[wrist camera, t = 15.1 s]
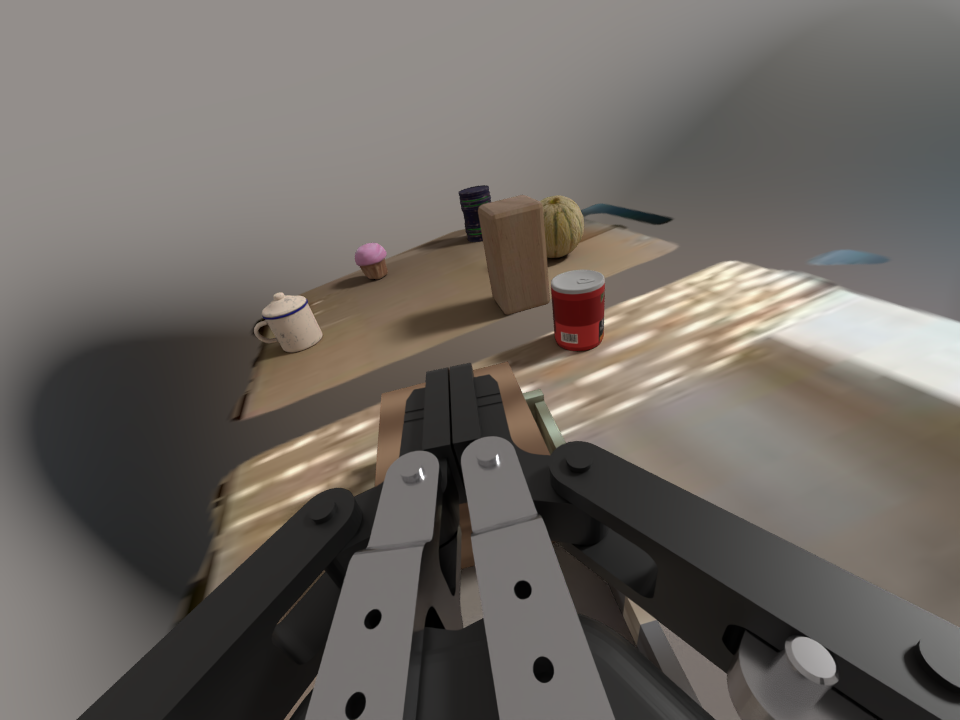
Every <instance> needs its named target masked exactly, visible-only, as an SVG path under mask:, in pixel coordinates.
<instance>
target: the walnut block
mask: <svg viewBox="0 0 960 720" xmlns="http://www.w3.org/2000/svg"><path fill="white" fill-rule="evenodd" d="M473 373H474V377H478V376H483V375H488V374H490V375H491V376H492V377H493V378H494V379H495V380H496V381H497V382H498V385H499V389H500V394H501V398H502V402H503V406H504V410H505V414H506V419H507V423H508V427H509V431H510V435H511V438H512V440H513V442H514V443H515V444H516V446H518V447H519V448H520V449H522V450H524V451H526V452H529V453H533V454H540V455H550V453H549V451H548V448H547V446H546V444H545V442H544V440H543V437H542V435H541V433H540V431H539V429H538V426H537V424H536V422H535V420H534V418H533V415H532V413H531V411H530V409H529V407H528V405H527V402H526V400H525V398H524V396H523V394H522V391H521V389H520V387H519V385H518V383H517V380H516V378H515V376H514V374H513V372H512V369H511V367H510V365H509V363H508V361H507V362H504V363H500V364H496V365H492V366H488V367H484V368H480V369H476V370H473ZM425 385H426V383H422V384H418V385H414V386H410V387H406V388H402V389H398V390H394V391H391V392H387V393H383V394H382V396H381V409H380V423H379V436H378V449H377V462H376V476H375V487H376V486H377V485H379V484H381V483H382V482H383V481H384V480H385V476H386V473H387V470H388V469H389V467H390V466H391V464H392V463H393V462H394V461H395V460H397V459H398V458H399V454H400V446H401V438H402V430H403V424H404V414H405V406H406V400H407V399H408V397H409V396H410V394H411V393H412V391H413V390H414V389H419V388H424V387H425ZM459 512H460V525H461V531H462V536H461V569H464V568H467V567H471V566H474V565H475V561H474V555H473V549H472V542H471V533H472V525H471V519H470V513H469V507H468V503H463V504H459ZM555 542H557V541H551V543H555Z"/></svg>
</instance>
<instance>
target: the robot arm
mask: <svg viewBox="0 0 960 720" xmlns="http://www.w3.org/2000/svg"><path fill="white" fill-rule="evenodd" d="M463 503H468V507H469V513H470V519H471V525H472V533H471V542H472V549H473V555H474V561H475V567H476V574H477V580H478V586H479V593H480V599H481V605H482V611H483V619H481V620H479V621H477V622H475V623H473V624H471V625H469V626H467V627H465V628H463V620H462V615H461V607H460V580H461V536H462V531H461V525H460V512H459V504H463ZM551 541H557V542H560V544H561V545H562V547H563V548H564V549H565V550H566V551H568V552H569V553H570V554H571V555H573V556H574V557H575V558H577V559H578V560H579V561H581V562H582V563H583V564H584V565H586V566H587V567H588V568H590V569H591V570H592V571H594V572H595V573H596V574H598V575H599V576H600V577H601V578H603V579H604V580H605V581H607V582H608V583H609V584H611V585H612V586H613V587H614V588H616V589H617V590H618V591H620V592H621V593H622V594H624V595H625V596H626V597H628V598H629V599H630V600H631V601H633V602H634V603H635V604H637V605H638V606H639V607H641V608H642V609H643V610H645V611H646V612H647V613H648V614H650V615H651V616H652V617H654V618H655V619H656V620H658V621H659V622H660V623H661V624H663V625H664V626H665V627H667V628H668V629H669V630H671V631H672V632H673V633H675V634H676V635H677V636H678V637H680V638H681V639H682V640H684V641H685V642H686V643H688V644H689V645H690V646H691V647H693V648H694V649H695V650H697V651H698V652H699V653H701V654H702V655H703V656H705V657H706V658H707V659H708V660H710V661H711V662H712V663H714V664H715V665H716V666H718V667H719V668H720V669H721V670H723V671H724V672H725V673H727V685H728V691H729V695H730V698H731V700H732V703H733V705H734V707H735V709H736V711H737V713H738V715H739V717H740V718H741V720H960V628H959V627H957V626H955V625H954V624H952V623H950V622H948V621H946V620H944V619H942V618H940V617H938V616H936V615H934V614H932V613H930V612H928V611H926V610H924V609H922V608H920V607H918V606H916V605H914V604H912V603H910V602H908V601H906V600H904V599H902V598H900V597H898V596H896V595H894V594H892V593H890V592H888V591H886V590H884V589H882V588H880V587H878V586H876V585H874V584H872V583H870V582H868V581H866V580H864V579H862V578H860V577H858V576H856V575H854V574H852V573H850V572H848V571H846V570H844V569H842V568H840V567H838V566H836V565H834V564H832V563H830V562H828V561H826V560H824V559H822V558H820V557H818V556H816V555H814V554H812V553H810V552H808V551H806V550H804V549H802V548H800V547H798V546H796V545H794V544H792V543H790V542H788V541H786V540H784V539H782V538H780V537H778V536H776V535H774V534H772V533H770V532H768V531H766V530H764V529H762V528H760V527H758V526H756V525H754V524H752V523H750V522H748V521H746V520H744V519H742V518H740V517H738V516H736V515H734V514H732V513H730V512H728V511H726V510H724V509H722V508H720V507H718V506H716V505H714V504H712V503H710V502H708V501H706V500H704V499H702V498H700V497H698V496H696V495H694V494H692V493H690V492H688V491H686V490H684V489H682V488H680V487H678V486H676V485H674V484H672V483H670V482H668V481H666V480H664V479H662V478H660V477H658V476H656V475H654V474H652V473H650V472H648V471H646V470H644V469H642V468H640V467H638V466H636V465H634V464H632V463H630V462H628V461H626V460H624V459H622V458H620V457H618V456H616V455H614V454H612V453H610V452H608V451H606V450H604V449H602V448H600V447H598V446H596V445H593V444H591V443H588V442H582V441H574V442H568V443H565V444H562V445H560V446H559V447H557V448H556V449H555V450H554V451H553V452H552V454H551V455H540V454H533V453H529V452H526V451H524V450H522V449H520V448H519V447H518V446H516V444H515V443H514V442H513V440H512V438H511V435H510V431H509V427H508V423H507V419H506V414H505V410H504V406H503V402H502V398H501V394H500V389H499V385H498V382H497V381H496V380H495V379H494V378H493V377H492V376H491V375H490V374H488V375H483V376H478V377H474V373H473V369H472V365H471V363H467V364H462V365H457V366H452V367H450V370H449V368H443V369H438V370H433V371H428V372H426V385H425V387H424V388H419V389H414V390H413V391H412V393H411V394H410V396H409V397H408V399H407V400H406V406H405V414H404V424H403V430H402V438H401V446H400V454H399V458H398V459H397V460H395V461H394V462H393V463H392V464H391V466H390V467H389V469H388V470H387V473H386V476H385V480H384V481H383V482H382V483H381V484H379V485H377V486H376V487H374V488H372V489H370V490H367V491H365V492H363V493H361V494H359V495H357V496H355V497H354V496H353V495H352V493H351V492H350V491H348V490H346V489H343V488H333V489H329V490H326V491H324V492H321V493H320V494H318V495H316V496H315V497H313V498H312V499H311V500H310V501H308V502H307V503H306V504H305V505H304V506H303V507H302V508H301V509H300V510H299V511H298V512H297V513H296V514H295V515H294V516H292V517H291V518H290V519H289V520H288V521H287V522H286V523H285V524H284V525H283V526H282V527H281V528H280V529H279V530H278V531H276V532H275V533H274V534H273V535H272V536H271V537H270V538H269V539H268V540H267V541H266V542H265V543H264V544H263V545H262V546H261V547H259V548H258V549H257V550H256V551H255V552H254V553H253V554H252V555H251V556H250V557H249V558H248V559H247V560H246V561H245V562H244V563H242V564H241V565H240V566H239V567H238V568H237V569H236V570H235V571H234V572H233V573H232V574H231V575H230V576H229V577H228V578H227V579H225V580H224V581H223V582H222V583H221V584H220V585H219V586H218V587H217V588H216V589H215V590H214V591H213V592H212V593H211V594H210V595H208V596H207V597H206V598H205V599H204V600H203V601H202V602H201V603H200V604H199V605H198V606H197V607H196V608H195V609H194V610H193V611H191V612H190V613H189V614H188V615H187V616H186V617H185V618H184V619H183V620H182V621H181V622H180V623H179V624H178V625H177V626H176V627H174V628H173V629H172V630H171V631H170V632H169V633H168V634H167V635H166V636H165V637H164V638H163V639H162V640H161V641H160V642H159V643H158V644H156V645H155V646H154V647H153V648H152V649H151V650H150V651H149V652H148V653H147V654H146V655H145V656H144V657H143V658H142V659H141V660H140V661H138V662H137V663H136V664H135V665H134V666H133V667H132V668H131V669H130V670H129V671H128V672H127V673H126V674H124V676H122V677H121V678H120V679H119V680H118V681H117V682H116V683H115V684H114V685H113V686H112V687H111V688H110V689H109V690H107V691H106V692H105V693H104V695H102V696H101V697H100V698H99V699H98V700H97V701H96V702H95V703H94V704H93V705H92V706H90V708H88V709H87V710H86V711H85V712H84V713H83V714H82V715H81V716H80V717H79V718H78V719H77V720H284V718H285V717H286V716H287V714H288V713H289V712H290V710H291V709H292V708H293V706H294V705H295V704H296V702H297V701H298V700H299V698H300V697H301V696H302V694H303V693H304V692H305V690H306V689H307V688H308V686H309V685H310V684H311V682H312V681H313V680H314V678H315V677H316V675H317V674H318V675H317V679H316V682H315V686H314V688H313V689H312V690H311V692H310V693H309V694H308V695H307V696H306V697H305V699H304V700H303V701H302V703H301V704H300V705H299V707H298V708H297V710H296V711H295V712H294V714H293V715H292V717H291V718H290V720H715V719H714V718H713V717H712V716H711V715H710V714H709V713H708V712H706V711H705V710H704V709H703V708H702V707H701V706H700V705H699V704H698V703H696V702H695V701H694V700H693V699H692V698H691V697H690V696H689V695H688V694H686V693H685V692H684V691H683V690H682V689H681V688H680V687H679V686H678V685H676V684H675V683H674V682H673V681H672V680H671V679H670V678H669V677H668V676H666V675H665V674H664V673H663V672H662V671H661V670H660V669H659V668H658V667H656V666H655V665H654V664H653V663H652V662H651V661H650V660H649V659H648V658H647V657H645V656H644V655H643V654H642V653H641V652H640V651H639V650H638V649H637V648H635V647H634V646H633V645H632V644H631V643H630V642H629V641H627V640H626V639H625V638H624V637H623V636H621V635H620V634H618V633H617V632H615V631H614V630H613V629H611V628H610V627H608V626H606V625H604V624H602V623H601V622H599V621H597V620H594V619H592V618H590V617H587V616H585V615H581V614H577V612H576V610H575V607H574V604H573V601H572V598H571V596H570V593H569V590H568V587H567V585H566V582H565V579H564V576H563V573H562V571H561V568H560V565H559V562H558V560H557V557H556V554H555V551H554V549H553V546H552V543H551ZM323 570H325V571H326V572H325V573H324V574H323V575H322V576H321V577H320V579H319V580H318V581H317V582H316V583H315V584H314V585H313V586H312V588H311V589H310V590H309V591H308V592H307V593H306V594H305V596H304V597H303V598H302V599H301V600H300V601H299V602H298V604H297V605H296V606H295V607H294V608H293V609H292V610H291V611H290V613H289V614H288V615H287V616H286V617H285V618H284V619H283V620H282V621H281V622H280V623H279V624H278V625H276V624H277V623H278V621H279V620H280V619H281V618H282V616H283V615H284V614H285V613H286V612H287V611H288V610H289V609H290V607H291V606H292V605H293V604H294V603H295V602H296V601H297V600H298V598H299V597H300V596H301V595H302V594H303V593H304V592H305V591H306V589H307V588H308V587H309V586H310V585H311V584H312V583H313V582H314V580H315V579H316V578H317V577H318V576H319V575H320V574H321V573H322V571H323Z"/></svg>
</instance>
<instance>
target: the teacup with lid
mask: <svg viewBox="0 0 960 720" xmlns="http://www.w3.org/2000/svg"><path fill="white" fill-rule="evenodd" d="M273 297H274V300H273V301H272V302H271V303H270V304H269V305H268V306H267V307H265V308H264V309H263V311H262V317H263V318H264V319H266V320H265V321H262V322H260V323H258V324H257V325H256V326H255V328H254V333H255V335H256V337H257V338H258V339H260V340H261V341H263V342H265V343H275V342H279V343H280V345H281V347H282V348H283V350H284V351H286V352H298V351H302V350H305V349H307V348H309V347H311V346H313V345H315V344H316V343H317V342H319V341H320V339H321V338H322V332H321V330H320V328H319V326H318V324H317V322H316V320H315V318H314V315H313V313H312V311H311V309H310V307H309V305H308V301H307V299H306V298H305V297H303V296H289V295H286V296H284V294H283V293H281V292H280V293H276V294H275V295H274V296H273ZM267 324H269V326H270V328H271V330H272V331H273V333H274V335H275V336H276V338H273V339H267V338H264V337H262V336H261V335H260V334H259V332H258V329H259V328H260V327H261V326H264V325H267Z"/></svg>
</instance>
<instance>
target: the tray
mask: <svg viewBox="0 0 960 720" xmlns="http://www.w3.org/2000/svg"><path fill="white" fill-rule="evenodd" d="M523 396H524V398H525V400H526V402H527V405H528V407H529V409H530V411H531V413H532V415H533V418H534V420H535V422H536V424H537V426H538V428H539V430H540V433H541V435H542V437H543V439H544V442H545V444H546V446H547V448H548V450H549V453H550V455H551V454H552V452H553V451H554V450H555V449H556V448H557V447H559V446H560V445H562V444H565V443H566V442H565V440H564V438H563V437H562V435H561V433H560V431H559V429H558V427H557V425H556V423H555V421H554V419H553V417H552V415H551V413H550V411H549V409H548V407H547V406H546V404H545V402H544V395H543V393H542V391H541V389H538V390H534V391H530V392H526V393H523ZM608 584H609V583H608ZM609 586H610V588H611V590H612V593H613V595H614V597H615V599H616V601H617V604H618V606H619V608H620V610H621V613H622V615H623V617H624V619H625V621H626V624H627V626H628V628H629V630H630V633H631V635H632V637H633V639H634V641H635V644H636V646H637V648H638V650H639V651H640V652H641V653H642V654H643V655H644V656H645V657H647V658H648V659H649V660H650V661H651V662H652V663H653V664H654V665H655V666H656V667H658V668H659V669H660V670H661V671H662V672H663V673H664V674H665V675H666V676H668V677H669V678H670V679H671V680H672V681H673V682H674V683H675V684H676V685H678V686H679V687H680V688H681V689H682V690H683V691H684V692H685V693H686V694H688V695H689V696H690V697H691V698H692V699H693V700H694V701H695V702H696V703H698V704H699V705H700V706H701V704H700V702H699V700H698V698H697V696H696V694H695V693H694V691H693V689H692V687H691V685H690V683H689V681H688V679H687V677H686V675H685V673H684V671H683V669H682V667H681V665H680V663H679V662H678V660H677V658H676V656H675V654H674V652H673V650H672V648H671V646H670V644H669V642H668V640H667V638H666V636H665V634H664V632H663V630H662V629H661V627H660V625H659V623H658V621H657V620H656V619H655V618H654V617H652V616H651V615H650V614H648V613H647V612H646V611H645V610H643V609H642V608H641V607H639V606H638V605H637V604H635V603H634V602H633V601H631V600H630V599H629V598H628V597H626V596H625V595H624V594H622V593H621V592H620V591H618V590H617V589H616V588H614V587H613V586H612V585H611V584H609ZM701 707H702V706H701Z"/></svg>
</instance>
